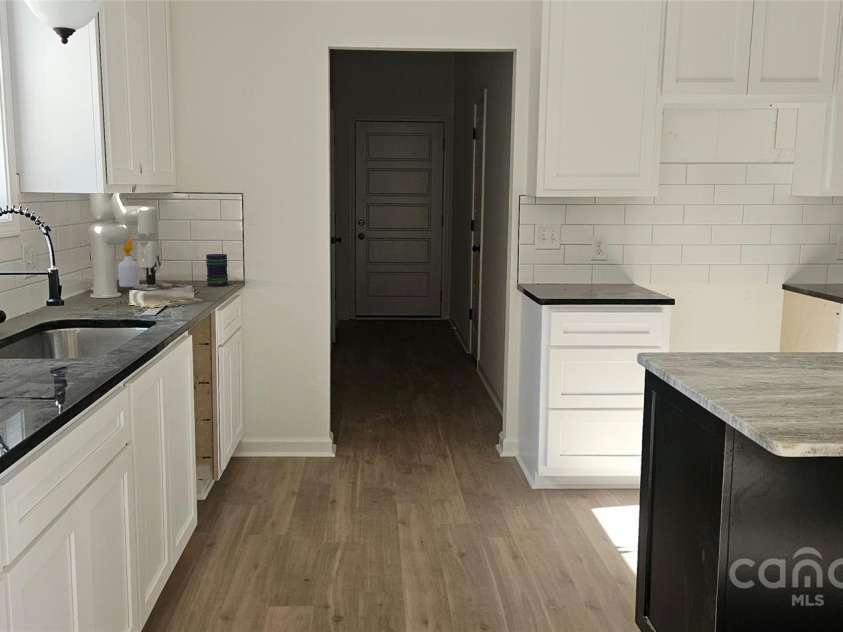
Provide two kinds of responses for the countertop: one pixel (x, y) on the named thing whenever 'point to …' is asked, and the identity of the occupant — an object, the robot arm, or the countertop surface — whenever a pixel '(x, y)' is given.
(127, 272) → the soap bottle
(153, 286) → the rocker
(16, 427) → the countertop surface
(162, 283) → the rocker middle
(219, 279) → the storage jar
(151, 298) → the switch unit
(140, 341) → the countertop surface
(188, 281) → the rocker
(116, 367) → the countertop surface
